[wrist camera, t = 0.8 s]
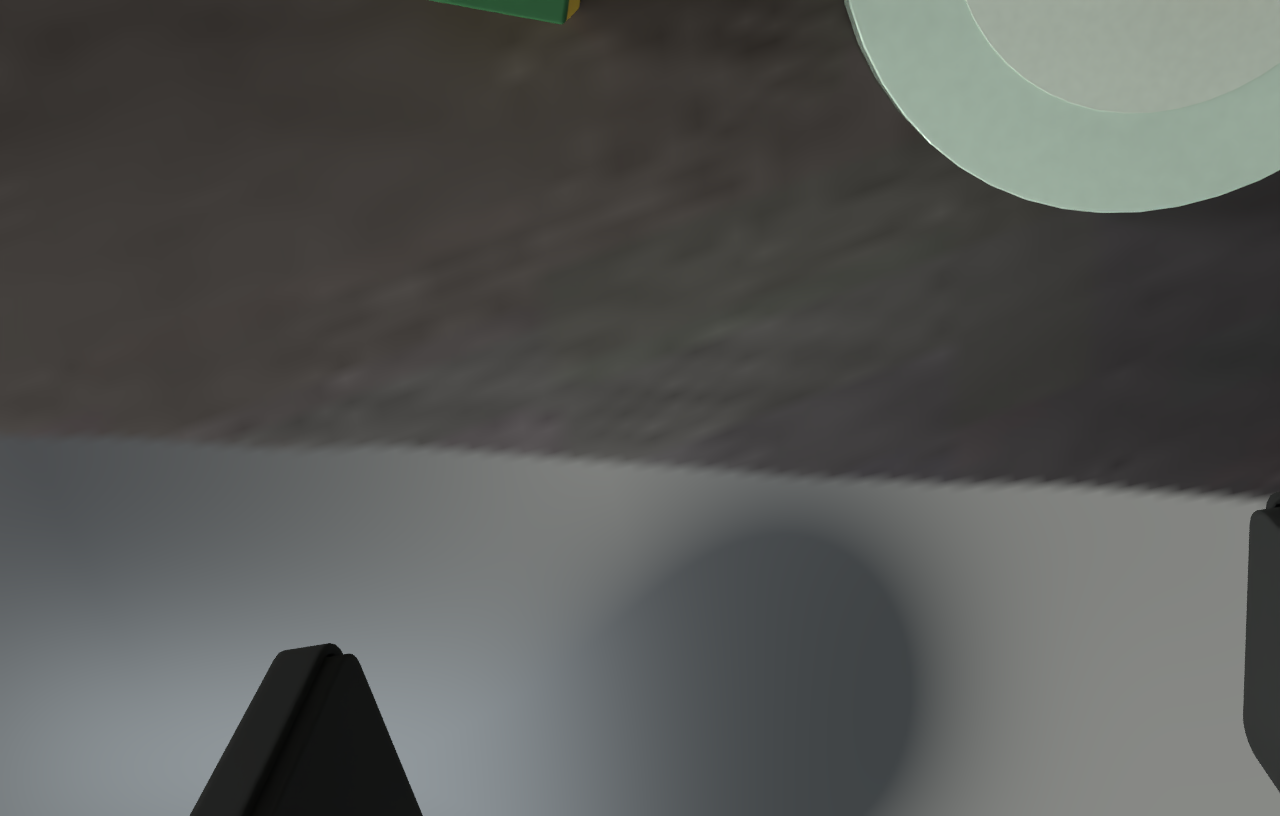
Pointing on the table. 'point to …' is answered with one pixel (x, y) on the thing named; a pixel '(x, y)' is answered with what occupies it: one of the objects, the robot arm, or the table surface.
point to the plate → (1086, 93)
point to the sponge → (525, 8)
